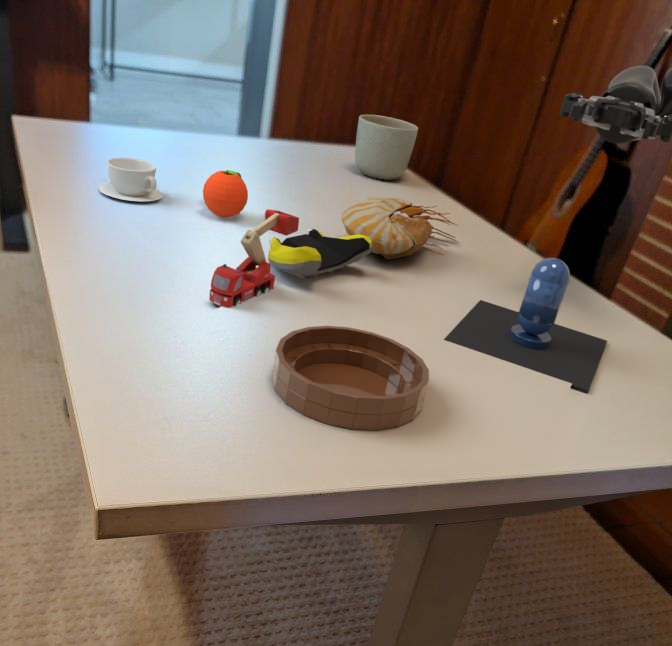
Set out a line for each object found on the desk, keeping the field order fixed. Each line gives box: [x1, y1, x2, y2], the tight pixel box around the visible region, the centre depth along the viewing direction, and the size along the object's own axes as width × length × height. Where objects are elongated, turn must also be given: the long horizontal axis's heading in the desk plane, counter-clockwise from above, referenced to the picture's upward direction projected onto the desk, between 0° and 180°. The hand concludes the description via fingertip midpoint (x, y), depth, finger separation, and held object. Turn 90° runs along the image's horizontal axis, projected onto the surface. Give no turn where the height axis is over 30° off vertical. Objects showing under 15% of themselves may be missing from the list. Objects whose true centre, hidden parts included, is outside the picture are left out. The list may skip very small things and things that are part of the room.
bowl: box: [271, 325, 430, 431], centre depth 75 cm, size 15×15×4 cm
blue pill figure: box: [509, 257, 571, 349], centre depth 93 cm, size 5×5×11 cm
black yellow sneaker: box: [267, 228, 372, 280], centre depth 103 cm, size 15×6×10 cm
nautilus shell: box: [340, 196, 459, 261], centre depth 116 cm, size 8×22×15 cm
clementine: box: [202, 169, 249, 219], centre depth 117 cm, size 8×7×7 cm
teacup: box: [97, 157, 164, 202], centre depth 119 cm, size 10×10×5 cm
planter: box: [354, 114, 419, 181], centre depth 158 cm, size 12×12×11 cm
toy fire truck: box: [209, 208, 300, 309], centre depth 91 cm, size 3×14×10 cm, turn 151°
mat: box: [443, 299, 608, 394], centre depth 96 cm, size 18×18×1 cm
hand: (612, 121), depth 92 cm, fingers open, 8 cm apart
